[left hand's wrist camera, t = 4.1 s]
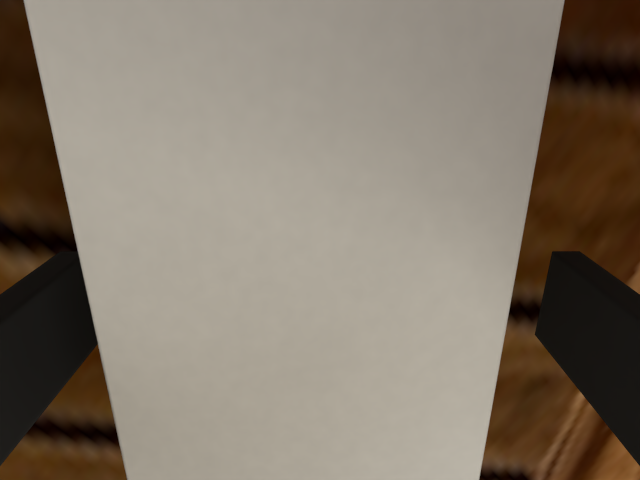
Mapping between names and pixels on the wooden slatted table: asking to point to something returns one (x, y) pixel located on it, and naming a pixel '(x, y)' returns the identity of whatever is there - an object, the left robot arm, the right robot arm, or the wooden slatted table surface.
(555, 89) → the wooden slatted table surface
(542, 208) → the wooden slatted table surface
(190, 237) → the thick board
